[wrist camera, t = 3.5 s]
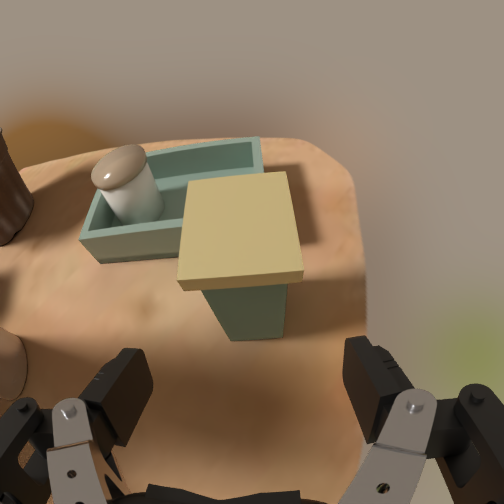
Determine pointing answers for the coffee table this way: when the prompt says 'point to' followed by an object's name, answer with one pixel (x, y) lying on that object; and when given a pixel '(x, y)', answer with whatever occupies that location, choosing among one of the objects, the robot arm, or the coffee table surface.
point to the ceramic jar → (129, 185)
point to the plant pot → (12, 197)
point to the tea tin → (241, 251)
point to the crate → (166, 199)
